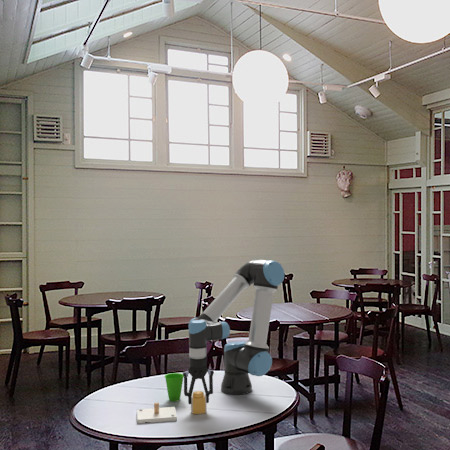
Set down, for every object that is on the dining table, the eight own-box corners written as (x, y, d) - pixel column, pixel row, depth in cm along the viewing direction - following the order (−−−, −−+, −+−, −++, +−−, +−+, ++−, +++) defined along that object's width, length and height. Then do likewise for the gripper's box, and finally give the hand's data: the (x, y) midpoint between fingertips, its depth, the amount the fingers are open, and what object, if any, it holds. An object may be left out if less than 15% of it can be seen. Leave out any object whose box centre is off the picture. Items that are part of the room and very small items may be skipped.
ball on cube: (203, 408, 214) (203, 390, 214) (205, 413, 209) (205, 394, 209) (191, 409, 213) (191, 391, 213) (193, 414, 208) (192, 395, 208)
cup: (181, 403, 222) (180, 379, 222) (162, 402, 224) (161, 378, 224) (186, 396, 231) (186, 373, 231) (168, 395, 232) (168, 372, 233)
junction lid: (174, 410, 213) (174, 397, 213) (176, 420, 201) (176, 407, 201) (137, 412, 210) (137, 400, 210) (137, 423, 198) (137, 409, 199)
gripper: (217, 353, 217) (217, 406, 216) (176, 355, 213) (177, 409, 213) (219, 357, 209) (220, 412, 209) (177, 360, 206) (178, 415, 206)
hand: (198, 410), depth 211 cm, fingers closed on ball on cube, 5 cm apart
